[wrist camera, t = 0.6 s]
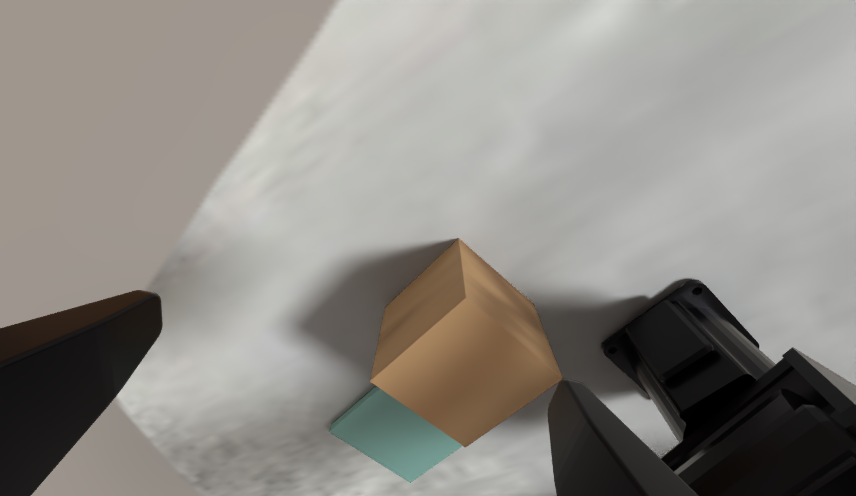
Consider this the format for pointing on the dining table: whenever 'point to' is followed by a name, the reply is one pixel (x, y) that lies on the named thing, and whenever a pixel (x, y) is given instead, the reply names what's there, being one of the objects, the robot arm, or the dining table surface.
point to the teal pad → (393, 435)
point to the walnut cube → (463, 347)
